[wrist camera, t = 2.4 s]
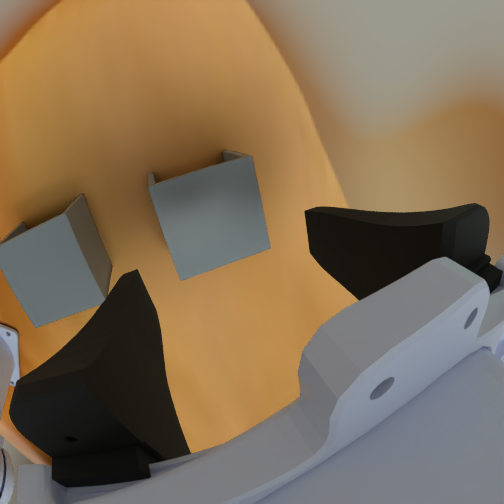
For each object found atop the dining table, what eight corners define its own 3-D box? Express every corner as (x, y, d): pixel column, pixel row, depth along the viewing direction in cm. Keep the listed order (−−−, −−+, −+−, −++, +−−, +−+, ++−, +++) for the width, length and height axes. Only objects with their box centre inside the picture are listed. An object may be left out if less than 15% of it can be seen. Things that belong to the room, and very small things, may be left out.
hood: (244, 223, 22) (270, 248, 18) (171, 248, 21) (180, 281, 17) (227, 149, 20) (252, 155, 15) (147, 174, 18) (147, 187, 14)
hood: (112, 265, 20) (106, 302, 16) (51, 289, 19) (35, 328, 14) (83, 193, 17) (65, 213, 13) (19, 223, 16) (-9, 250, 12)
